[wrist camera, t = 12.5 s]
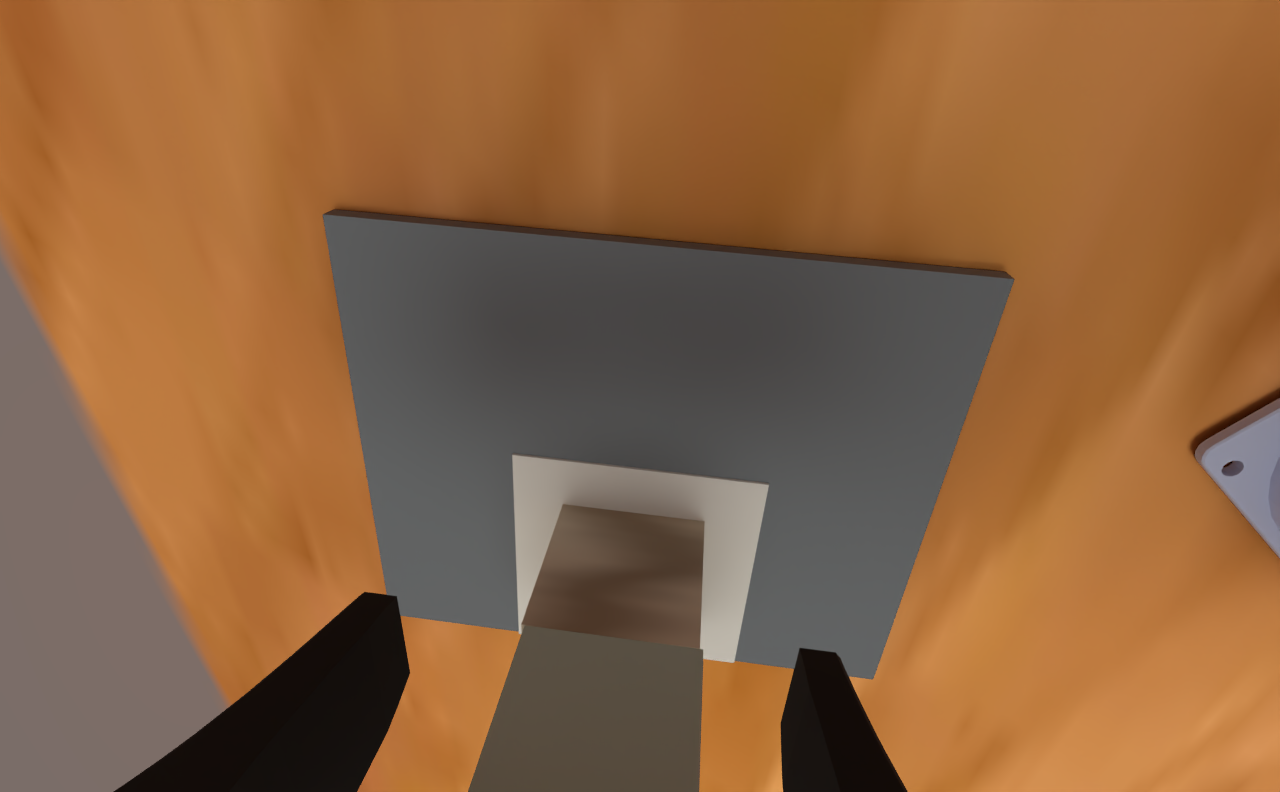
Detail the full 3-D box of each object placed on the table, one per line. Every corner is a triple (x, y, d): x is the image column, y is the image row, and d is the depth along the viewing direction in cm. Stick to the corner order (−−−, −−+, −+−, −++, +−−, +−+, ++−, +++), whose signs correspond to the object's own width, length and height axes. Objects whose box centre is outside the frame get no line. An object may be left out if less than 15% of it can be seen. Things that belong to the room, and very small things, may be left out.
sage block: (703, 649, 16) (696, 869, 12) (685, 760, 19) (674, 979, 14) (524, 625, 17) (454, 830, 12) (527, 737, 19) (469, 944, 15)
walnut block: (704, 521, 21) (699, 648, 16) (689, 623, 23) (682, 759, 19) (562, 504, 21) (521, 624, 17) (561, 606, 23) (524, 736, 19)
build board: (1005, 272, 17) (1016, 280, 16) (869, 665, 24) (873, 681, 23) (334, 209, 18) (320, 215, 17) (397, 602, 25) (389, 616, 25)
